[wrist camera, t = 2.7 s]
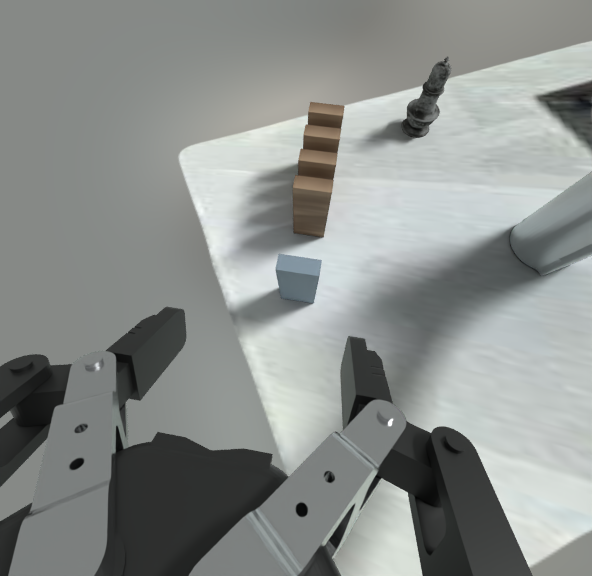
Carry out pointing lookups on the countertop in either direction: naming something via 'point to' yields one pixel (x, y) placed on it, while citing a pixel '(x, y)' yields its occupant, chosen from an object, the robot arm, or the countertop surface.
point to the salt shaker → (426, 102)
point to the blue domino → (297, 277)
